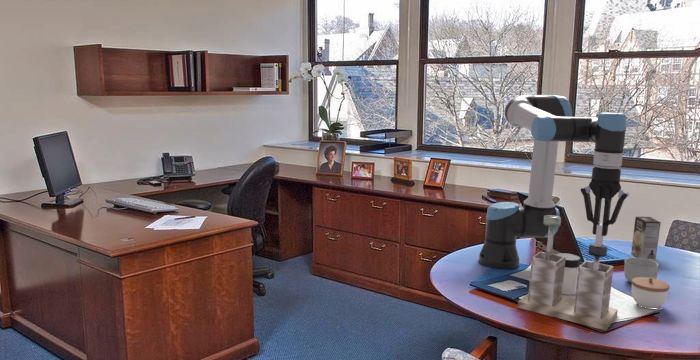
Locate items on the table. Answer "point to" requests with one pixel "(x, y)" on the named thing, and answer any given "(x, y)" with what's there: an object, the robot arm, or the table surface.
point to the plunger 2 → (597, 254)
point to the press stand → (583, 309)
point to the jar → (570, 273)
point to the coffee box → (645, 238)
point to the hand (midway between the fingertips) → (598, 245)
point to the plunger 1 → (551, 232)
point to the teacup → (640, 268)
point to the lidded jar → (649, 292)
